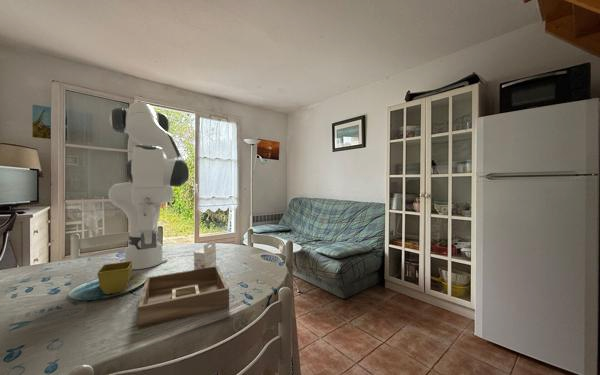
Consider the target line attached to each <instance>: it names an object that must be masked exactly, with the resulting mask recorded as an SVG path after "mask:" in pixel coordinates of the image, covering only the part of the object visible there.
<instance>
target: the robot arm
mask: <svg viewBox="0 0 600 375" xmlns="http://www.w3.org/2000/svg"><path fill="white" fill-rule="evenodd" d="M109 123H110V125H111V127H112V130H114V131H115V132H117V133H120V134H127V136H128V140H127V161H126V162H125V165H126V176H125V180H127V182H120V183H119V182H118V183H115V184H113V185H111V187H110V188H109V190H108V198H109V199H108V200H109V202H110V203H111V204H113V205H114V206H115V207H118V208H119V210H121V211H122V212H124V214H125V215H126V217H127V220H128V227H129V228H128V229H129V235H128V240H127V241H128V246H127V247H126V248H124V260H123V262H128V261H132V270H141V269H148V268H152V267H155V266H157V265H158V266H159V265H160V264H162V263H165V262H166V263H167V262H168V258H167V257H166V255H165V254H164V251H163V244H162V243H160V241H159V240H160V234H159V231H158V228H159V227H158V225H159V224H158V222H159V219H160V211H161V208H162V204H166V203H170V202H171V201H172V199H173V198H174V195H175V191H174V188H173V187H176V188H177V187H178V188H180V187H181V186H183V185H184V184H185V183H186V182H188V180H189V175H190V172H189V167H188V165H187V164H188V163H187V162H186V161H185V160H184V158H183V156H182V155H181V153H180V151H179V149H178V146H177V145H176V142H175V140H174V138H173V137H172V135H171V133H169V130H170V126H171V125H170V124H171V123H170V120H169V119H168V116H167V115H166V114H164V113H162V112H159V111H158V112H156V111H155V110H154V108H153V107H152V106H151V105H150V104H148V103H146V102H144V101H143V102H142V101H136V102H133V103H131V104H130V105H129V106H128V108H123V107H115V108H114V109H112V110H111V112H110V114H109ZM164 155H165V156H166V158H165V156H164ZM152 231H157V240H158V245H157V247H156V248H148V249H141V234H142V233H144V238H145V244H151V243H152Z"/></svg>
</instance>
